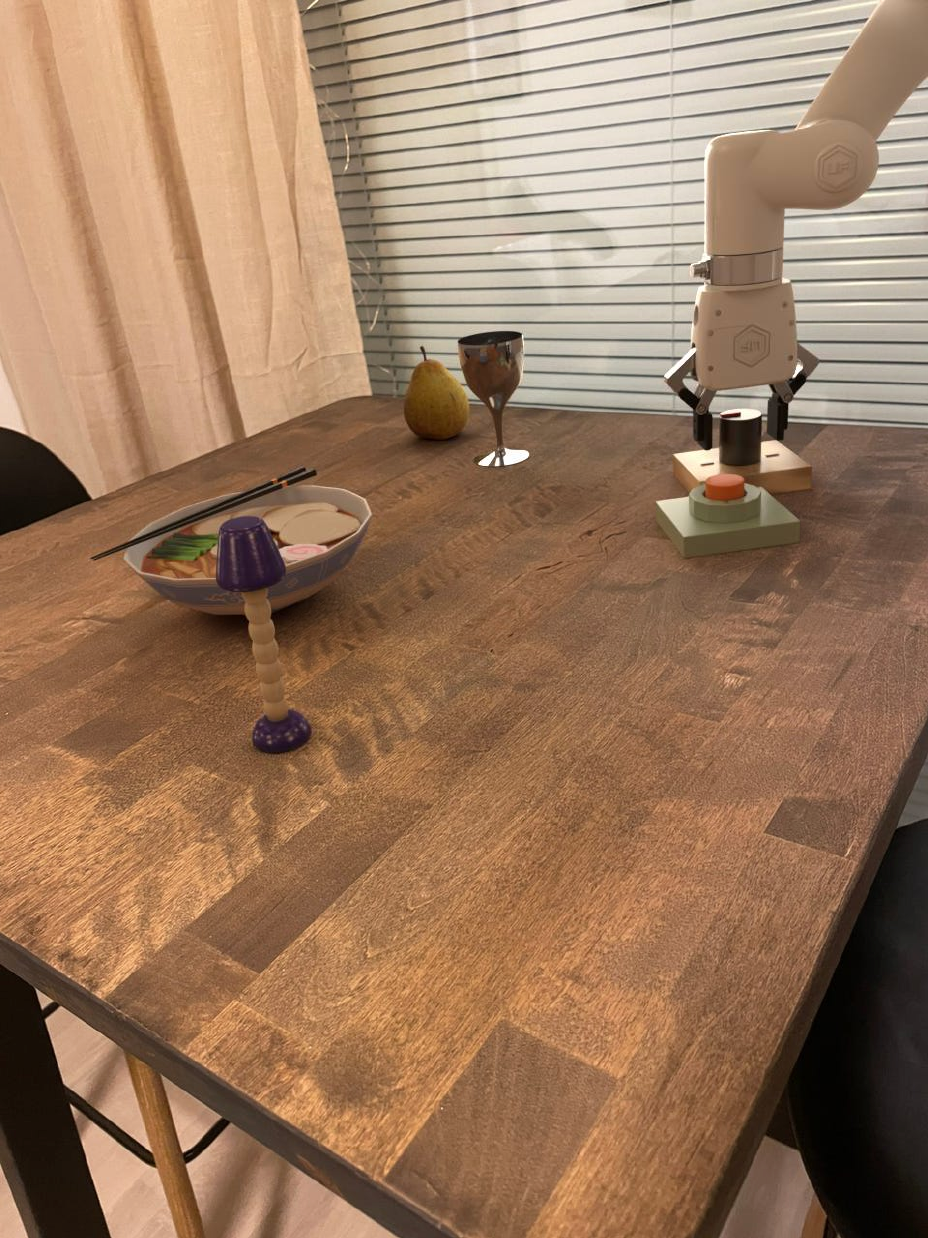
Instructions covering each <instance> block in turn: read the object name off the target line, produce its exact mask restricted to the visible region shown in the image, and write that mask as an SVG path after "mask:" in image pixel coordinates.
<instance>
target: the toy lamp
mask: <svg viewBox="0 0 928 1238" xmlns="http://www.w3.org/2000/svg"><path fill="white" fill-rule="evenodd" d="M285 575H286V566H285V563H284V561H283V559H282V556H281V554H280V552H279V550H278V548H277V545H276V543H275V541H274V539H273V537H272V535H271V533H270V531H269V529H268V527H267V525H266V523H265V522H264V520H263V519H261V518H259V517H256V516H242V517H237V518H233V519H230V520H227V521H226V522H224V523H223V524H222V525H221V526H220V529H219V535H218V547H217V562H216V581H217V584H218V586H220V587H221V588H222V589H224V590H227V591H231V592H241V595H242V597H243V599H244V600H245V601H246V602H245V607H244V610H245V614H246V615H245V617H246V619H247V621H249V623H248V628H247V629H248V635H249V637H250V639H251V640H252V641H253V642H252V645H251V651H252V655H253V657H254V660H255V661H256V664H255V673H256V675H257V677H258V679H259V680H260V682H259V692H260V695H261V697H262V699H263V703H262V706H263V707H262V708H263V712H264V714H263V715H262V716H261V717H260V718H259V719H258V720H257V722H256V723H255V725H254V727H253V731H252V744H253V746H254V747H255V748H256V749H257V750H259V751H262V752H265V753H274V754H275V753H285V752H288V751H292V750H295V749H296V748H298V747H300V746H302V745H303V744H305V743H306V742H307V741H308V740H309V738H310V736H311V734H312V728H311V725H310V722H309V721H308V720H307V718H306V717H305V715H303V714H302V713H301V712H299V711H297V710H294V709H291V708H289V703H288V700H287V698H286V696H285V694H286V684H285V682H284V680H283V678H282V675H283V666H282V662H281V661H280V659H279V645H278V642H277V640H276V639H275V635H276V629H275V625H274V621H273V620H272V619H271V617H272V613H271V606H270V603H269V601H268V600H267V599H266V597H267V593H268V590H267V588H268V587H270V586H273V585H275V584H277V583H278V582H280V581H281V580H282V579H283V578H284V577H285Z"/></svg>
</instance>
